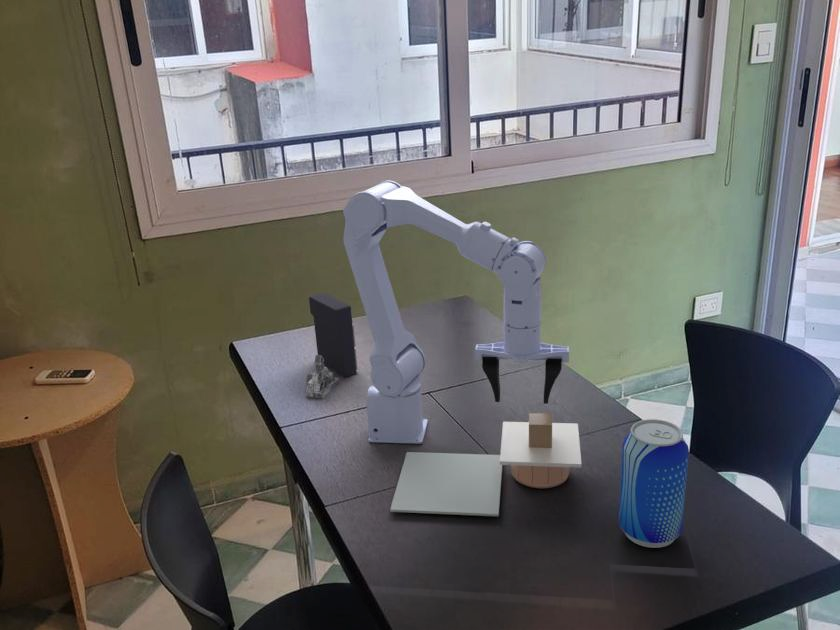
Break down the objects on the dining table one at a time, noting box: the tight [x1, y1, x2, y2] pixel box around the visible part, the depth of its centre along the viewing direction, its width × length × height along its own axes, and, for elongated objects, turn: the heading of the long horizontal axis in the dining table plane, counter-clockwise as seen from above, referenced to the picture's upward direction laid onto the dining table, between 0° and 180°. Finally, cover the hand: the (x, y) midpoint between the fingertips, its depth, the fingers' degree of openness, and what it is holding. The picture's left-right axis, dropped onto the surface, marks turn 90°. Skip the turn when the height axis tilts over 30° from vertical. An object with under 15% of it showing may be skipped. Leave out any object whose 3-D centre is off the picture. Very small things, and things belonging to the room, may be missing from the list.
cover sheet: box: [499, 412, 583, 468], centre depth 120 cm, size 12×12×5 cm
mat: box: [389, 451, 503, 517], centre depth 121 cm, size 16×16×1 cm
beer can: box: [618, 418, 690, 549], centre depth 105 cm, size 8×8×16 cm
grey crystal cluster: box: [305, 354, 340, 399], centre depth 154 cm, size 9×9×8 cm
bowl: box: [510, 465, 570, 489], centre depth 122 cm, size 9×9×5 cm
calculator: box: [308, 292, 358, 378], centre depth 161 cm, size 11×4×15 cm, turn 37°
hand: (521, 399), depth 125 cm, fingers open, 7 cm apart
